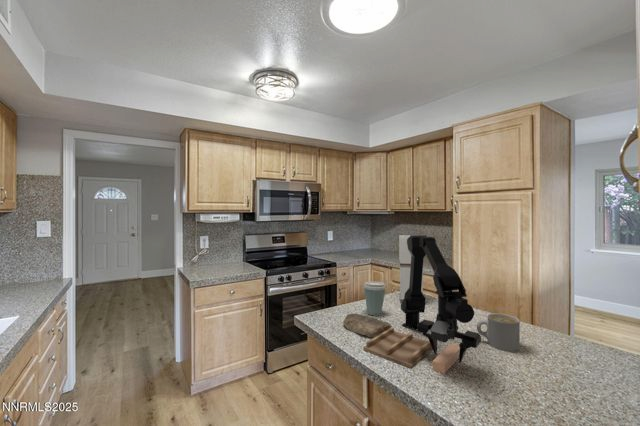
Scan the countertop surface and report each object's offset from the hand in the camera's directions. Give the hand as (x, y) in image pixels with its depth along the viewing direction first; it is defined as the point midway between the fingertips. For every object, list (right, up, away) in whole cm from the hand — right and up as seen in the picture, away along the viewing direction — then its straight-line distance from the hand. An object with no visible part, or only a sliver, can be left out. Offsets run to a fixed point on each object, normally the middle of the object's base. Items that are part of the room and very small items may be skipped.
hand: (447, 358), depth 98 cm
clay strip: (0, -1, 0) cm, 1 cm away
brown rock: (-24, -1, +28) cm, 36 cm away
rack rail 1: (-19, -1, +15) cm, 24 cm away
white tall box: (+7, 0, +63) cm, 64 cm away
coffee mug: (+24, -1, +12) cm, 27 cm away
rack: (-13, -1, +9) cm, 16 cm away
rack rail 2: (-7, -1, +4) cm, 8 cm away
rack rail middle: (-13, -1, +9) cm, 16 cm away
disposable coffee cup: (-16, -1, +45) cm, 47 cm away
